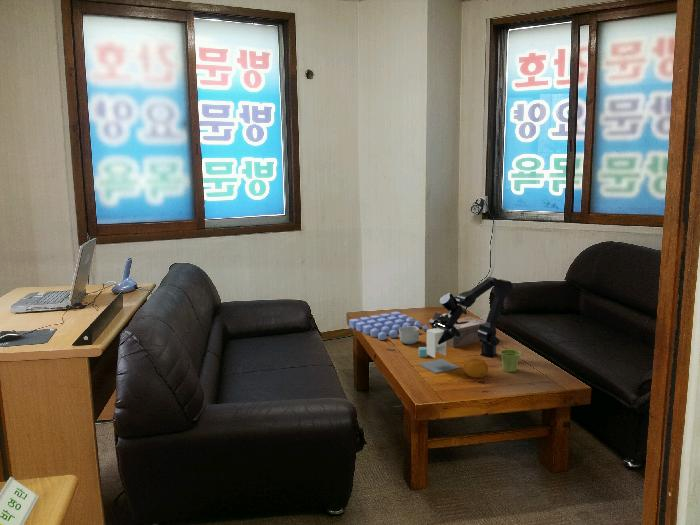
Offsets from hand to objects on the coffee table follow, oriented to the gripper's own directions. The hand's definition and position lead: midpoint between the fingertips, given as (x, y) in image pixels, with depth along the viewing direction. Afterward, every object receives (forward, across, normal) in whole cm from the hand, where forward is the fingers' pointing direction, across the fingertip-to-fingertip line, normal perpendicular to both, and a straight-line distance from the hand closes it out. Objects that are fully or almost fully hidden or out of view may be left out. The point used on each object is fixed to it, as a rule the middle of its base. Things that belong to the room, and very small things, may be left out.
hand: (434, 342), depth 278 cm
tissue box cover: (-18, -27, +36) cm, 49 cm away
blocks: (-1, -65, +20) cm, 68 cm away
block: (+5, -16, +12) cm, 21 cm away
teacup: (+1, -39, +17) cm, 43 cm away
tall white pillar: (+4, 0, +6) cm, 7 cm away
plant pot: (-11, +21, +29) cm, 37 cm away
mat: (+7, +1, +11) cm, 13 cm away
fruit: (+2, +19, +16) cm, 25 cm away
